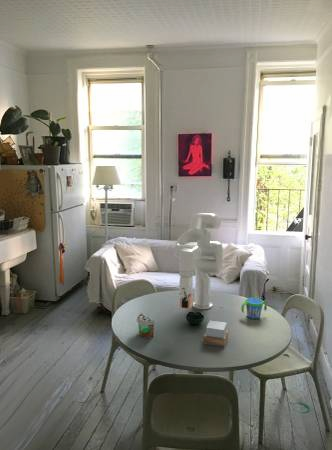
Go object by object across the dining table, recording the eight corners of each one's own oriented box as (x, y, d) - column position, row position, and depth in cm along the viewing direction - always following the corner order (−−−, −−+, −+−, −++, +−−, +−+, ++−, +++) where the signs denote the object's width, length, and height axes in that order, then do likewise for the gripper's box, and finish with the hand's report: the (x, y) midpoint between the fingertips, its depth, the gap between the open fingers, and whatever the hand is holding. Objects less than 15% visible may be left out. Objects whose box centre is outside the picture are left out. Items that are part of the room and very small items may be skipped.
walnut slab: (207, 334, 210) (208, 327, 209) (228, 337, 206) (228, 329, 205) (203, 344, 199) (203, 336, 199) (224, 347, 196) (224, 339, 195)
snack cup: (262, 312, 238) (263, 296, 236) (269, 319, 228) (270, 303, 226) (238, 313, 236) (238, 298, 234) (244, 321, 226) (244, 304, 224)
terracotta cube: (183, 303, 207) (183, 294, 206) (192, 305, 206) (193, 295, 204) (179, 307, 202) (179, 297, 201) (190, 309, 200) (190, 299, 199)
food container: (132, 332, 211) (132, 315, 209) (142, 329, 215) (141, 312, 213) (145, 341, 202) (144, 323, 200) (154, 338, 205) (154, 320, 203)
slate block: (209, 328, 207) (209, 320, 206) (226, 330, 205) (226, 322, 204) (206, 335, 199) (206, 327, 198) (223, 338, 196) (223, 330, 195)
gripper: (184, 266, 209) (184, 298, 213) (174, 277, 193) (174, 310, 197) (197, 268, 207) (197, 300, 210) (189, 278, 191) (188, 312, 195)
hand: (186, 304), depth 204 cm, fingers closed on terracotta cube, 5 cm apart
